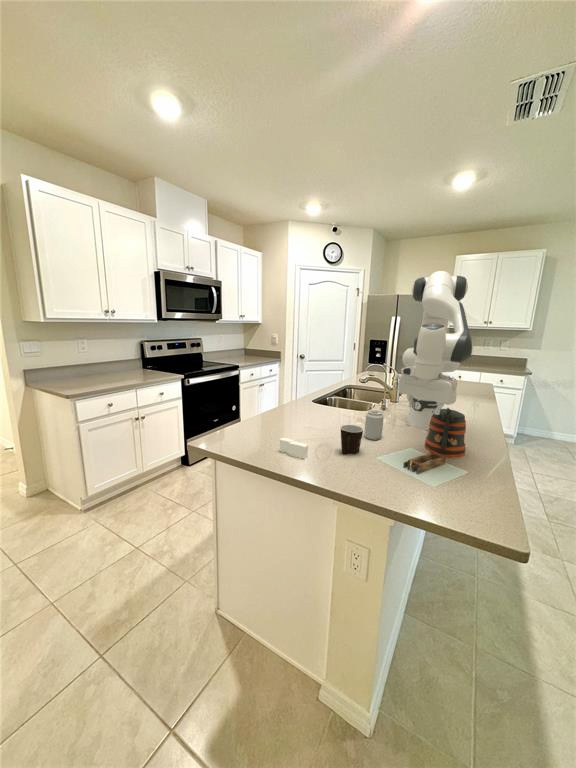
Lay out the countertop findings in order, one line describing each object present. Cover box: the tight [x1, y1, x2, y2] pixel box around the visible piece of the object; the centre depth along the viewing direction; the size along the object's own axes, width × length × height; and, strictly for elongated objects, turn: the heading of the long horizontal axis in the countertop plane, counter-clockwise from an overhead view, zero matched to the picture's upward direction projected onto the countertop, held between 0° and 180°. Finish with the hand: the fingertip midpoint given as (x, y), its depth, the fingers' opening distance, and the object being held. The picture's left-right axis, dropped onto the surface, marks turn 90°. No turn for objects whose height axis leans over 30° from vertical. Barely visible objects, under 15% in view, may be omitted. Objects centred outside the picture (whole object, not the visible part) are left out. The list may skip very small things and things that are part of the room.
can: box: [363, 409, 385, 441], centre depth 135 cm, size 8×8×12 cm
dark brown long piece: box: [403, 452, 447, 474], centre depth 107 cm, size 16×5×2 cm, turn 121°
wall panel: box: [375, 447, 470, 488], centre depth 109 cm, size 20×24×1 cm
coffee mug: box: [339, 424, 364, 456], centre depth 117 cm, size 12×9×10 cm
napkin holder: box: [279, 437, 309, 460], centre depth 117 cm, size 15×11×6 cm
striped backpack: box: [424, 407, 467, 459], centre depth 119 cm, size 19×15×20 cm
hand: (423, 410), depth 108 cm, fingers open, 8 cm apart
